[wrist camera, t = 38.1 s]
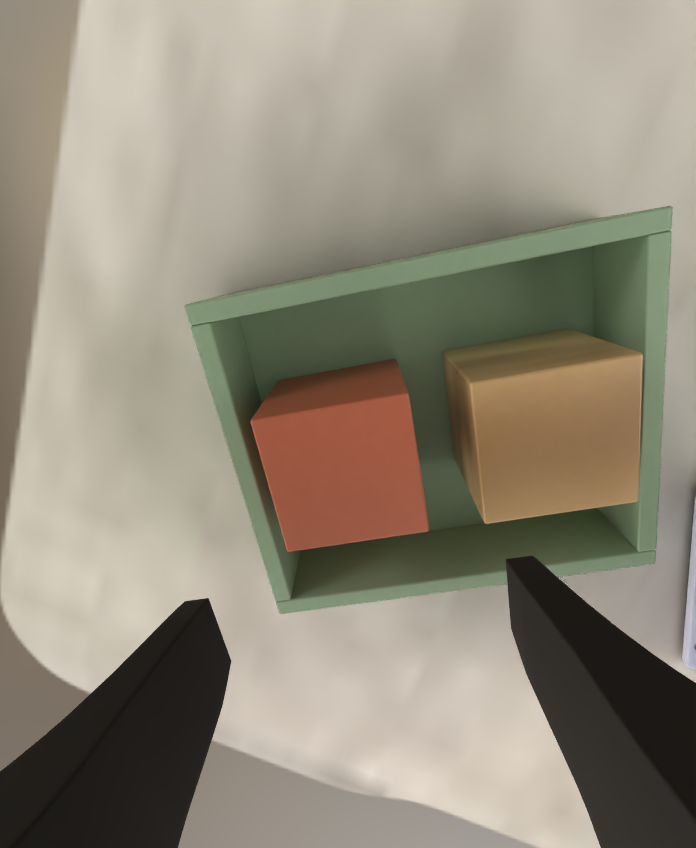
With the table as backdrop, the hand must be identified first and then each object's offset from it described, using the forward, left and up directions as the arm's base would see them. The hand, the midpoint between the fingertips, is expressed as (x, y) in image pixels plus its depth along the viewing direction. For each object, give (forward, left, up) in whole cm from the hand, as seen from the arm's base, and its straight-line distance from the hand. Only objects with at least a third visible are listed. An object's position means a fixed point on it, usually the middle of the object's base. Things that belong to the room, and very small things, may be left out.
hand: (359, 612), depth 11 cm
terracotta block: (+2, 0, -7) cm, 8 cm away
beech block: (+2, -6, -7) cm, 10 cm away
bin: (+2, -3, -8) cm, 9 cm away
